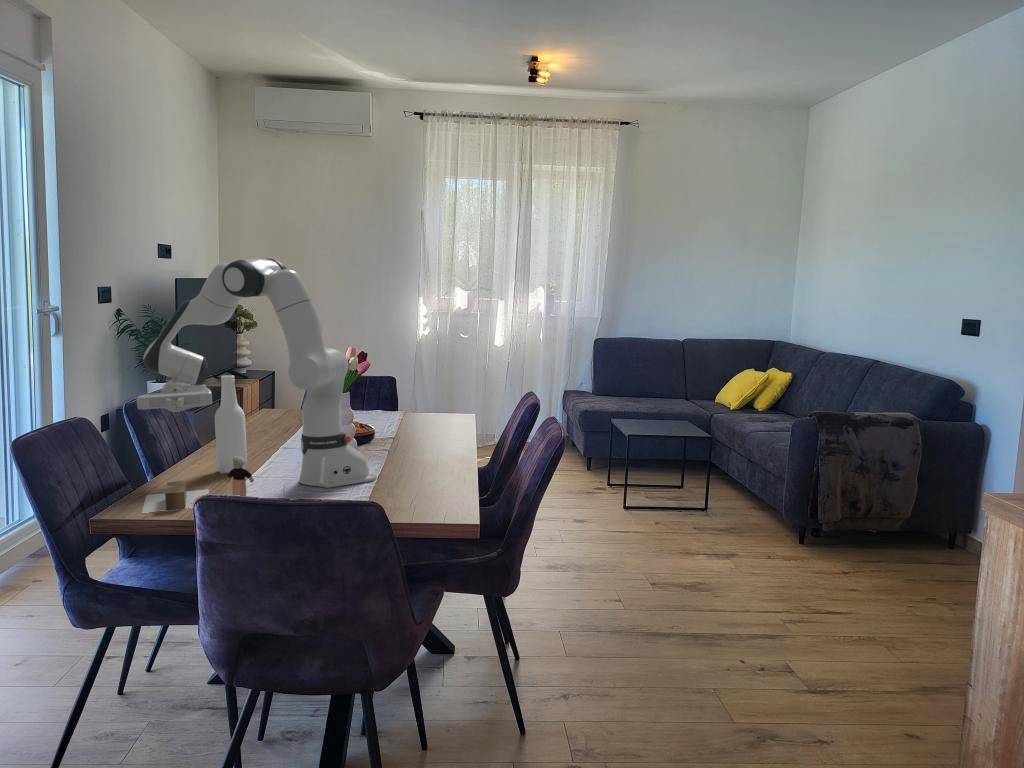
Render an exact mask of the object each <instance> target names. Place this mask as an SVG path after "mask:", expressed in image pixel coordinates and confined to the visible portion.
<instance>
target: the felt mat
mask: <svg viewBox="0 0 1024 768" xmlns="http://www.w3.org/2000/svg"><path fill="white" fill-rule="evenodd" d="M209 492H210V489H208V488H207V489H196V490H188V491H187V490H186V505H185V508H187V509H186V510H193V509H192V508H193V503H194V501H195V499H196V498H198V497H199V496H202V495H206V494H209V495H210V493H209ZM191 503H192V504H191ZM188 507H189V508H190V509H188ZM141 510H142V511H141V514H142V513H147V514H150V513H149V512H154V511H160V510H165V511H166V499H165V492H163V493H153V494H147V495H145V499H144V504H143V507H142V509H141ZM174 511H175V510H167V511H166V512H174ZM176 511H184V509H177V510H176Z"/></svg>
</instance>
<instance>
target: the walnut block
mask: <svg viewBox="0 0 1024 768" xmlns="http://www.w3.org/2000/svg"><path fill="white" fill-rule="evenodd" d="M186 485H187V484H186V480H184V479H183V480H175V481H174V480H173V481H167V482H166V488H165V492H164V493H165V499H166V512H168V511H167V510H176V511H178V510H177V509H185V505H186V491H187V488H186V487H187V486H186Z"/></svg>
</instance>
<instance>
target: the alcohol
mask: <svg viewBox="0 0 1024 768" xmlns="http://www.w3.org/2000/svg"><path fill="white" fill-rule="evenodd" d="M220 378H221V380H220V382H221V388H220V390H221V393H220V394H221V395H220V397H221V398H220V405H219V407H218V408H217V409H216V411H215V414H214V429H215V448H216V465H217V468H216V469H217V472H218V473H219V474H222V475H223V474H224V475H225V474H229V472H230V471H231V470H232V469H234V466H233V461H232V460H233V457H234V456H241V457H242V458H244V460H245V462H246V463H245V464H244V465H243V467H242V468H243V469H245V470H248V469H247V468H248V455H247V454H248V451H247V433H246V431H247V429H246V414H245V412H244V409H242V407H241V406H240V405H239V403H238V400H237V399H238V398H237V391H236V385H235V384H236V383H235V381H236V379H235V378H236V377H235V375H232V374H227V375H226V374H224V375H221V376H220Z"/></svg>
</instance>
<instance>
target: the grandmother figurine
mask: <svg viewBox="0 0 1024 768" xmlns="http://www.w3.org/2000/svg"><path fill="white" fill-rule="evenodd" d="M232 461H233V466H234V469H232V470H231V471H230V472H229V473H227V477H226V480H225V481H226V483H230V482H231V479H232V490H231V491H232V495H240V496H246V497H247V482H246V478H247V479H248V480H249V482H250V483H254V481H255V480H254V478H253V474H252V473H251V472H250V471H248V469H246V470H245V469H243V468H242V467H243V465H244V464H245V463H246V462H245V460H244V458H242V457H241V456H234V457H233V460H232Z"/></svg>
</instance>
